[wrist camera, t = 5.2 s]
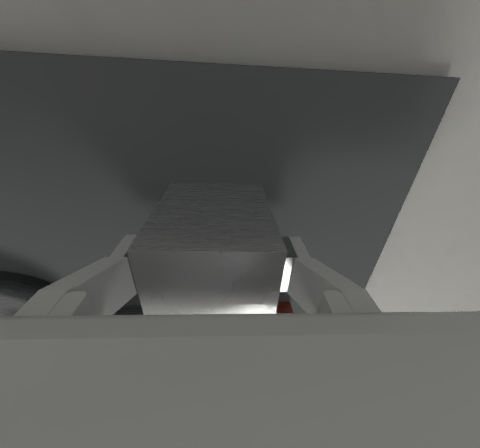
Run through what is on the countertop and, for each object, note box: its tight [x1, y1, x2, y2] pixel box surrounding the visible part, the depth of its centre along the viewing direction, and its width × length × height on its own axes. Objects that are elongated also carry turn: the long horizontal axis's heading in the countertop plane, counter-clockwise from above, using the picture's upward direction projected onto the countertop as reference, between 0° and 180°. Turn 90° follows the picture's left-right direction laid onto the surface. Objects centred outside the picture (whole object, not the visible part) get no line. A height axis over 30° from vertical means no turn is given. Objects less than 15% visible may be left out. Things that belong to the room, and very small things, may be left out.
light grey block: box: [127, 182, 287, 315], centre depth 10 cm, size 4×4×6 cm
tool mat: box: [0, 51, 460, 313], centre depth 14 cm, size 32×22×1 cm
